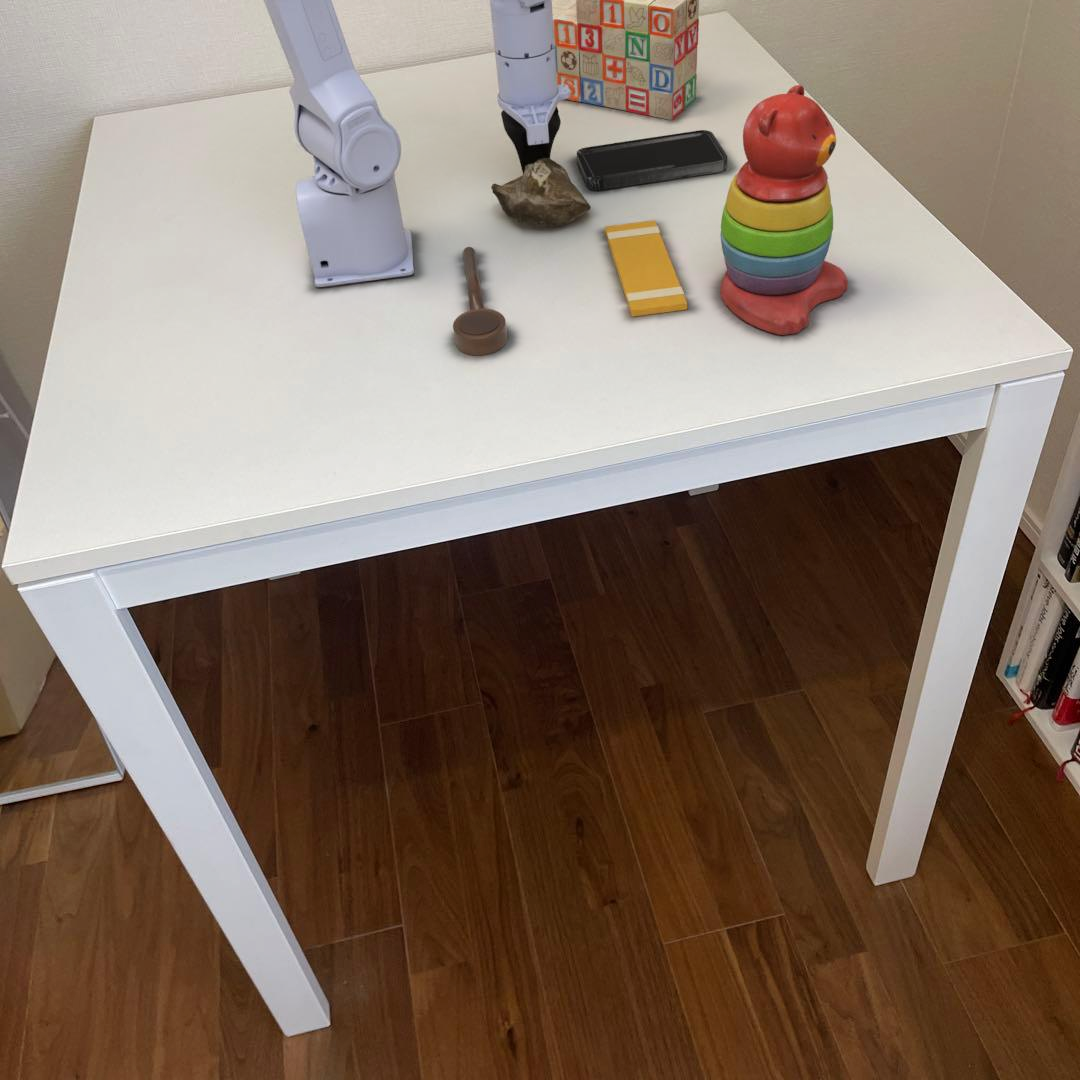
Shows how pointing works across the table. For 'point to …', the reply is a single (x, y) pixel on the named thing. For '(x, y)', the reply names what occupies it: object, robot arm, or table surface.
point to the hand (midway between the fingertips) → (536, 181)
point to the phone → (651, 160)
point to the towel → (645, 269)
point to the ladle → (478, 317)
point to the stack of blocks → (628, 53)
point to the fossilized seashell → (542, 195)
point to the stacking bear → (781, 217)
